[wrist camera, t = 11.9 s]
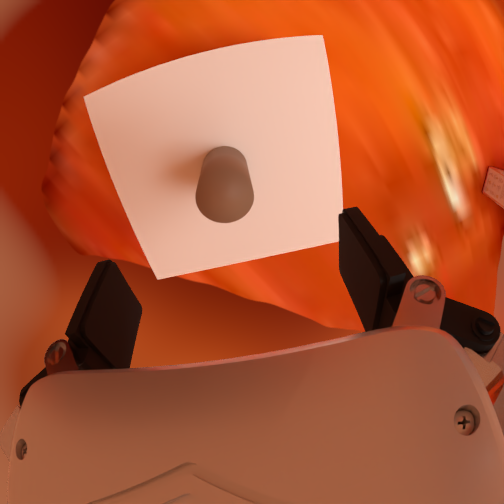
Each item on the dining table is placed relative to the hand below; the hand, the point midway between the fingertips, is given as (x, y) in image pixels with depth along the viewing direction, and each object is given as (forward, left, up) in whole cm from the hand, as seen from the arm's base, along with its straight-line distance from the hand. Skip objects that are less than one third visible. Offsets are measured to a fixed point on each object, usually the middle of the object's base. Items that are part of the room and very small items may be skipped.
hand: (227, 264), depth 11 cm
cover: (0, 0, -25) cm, 25 cm away
